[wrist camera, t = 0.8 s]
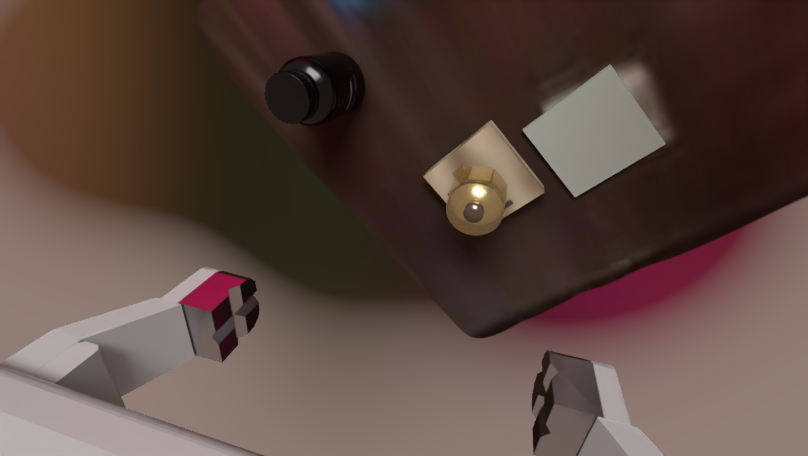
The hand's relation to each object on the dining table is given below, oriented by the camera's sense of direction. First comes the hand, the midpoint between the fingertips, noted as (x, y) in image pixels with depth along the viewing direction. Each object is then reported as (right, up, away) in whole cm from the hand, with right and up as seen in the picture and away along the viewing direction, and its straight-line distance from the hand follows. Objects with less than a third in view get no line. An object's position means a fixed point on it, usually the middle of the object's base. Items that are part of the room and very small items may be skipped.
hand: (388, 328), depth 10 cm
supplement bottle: (-7, +20, +36) cm, 42 cm away
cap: (+9, +7, +33) cm, 35 cm away
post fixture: (+10, +9, +36) cm, 38 cm away
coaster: (+20, +13, +30) cm, 39 cm away
